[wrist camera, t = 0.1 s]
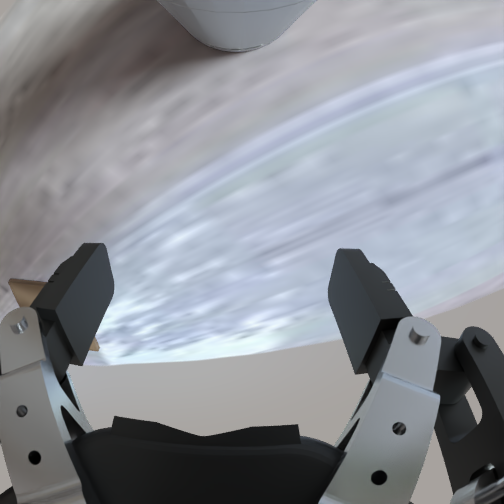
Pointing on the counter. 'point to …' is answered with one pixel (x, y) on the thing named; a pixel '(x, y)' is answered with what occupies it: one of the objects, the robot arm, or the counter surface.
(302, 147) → the counter surface
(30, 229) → the counter surface
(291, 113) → the counter surface
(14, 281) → the walnut board
